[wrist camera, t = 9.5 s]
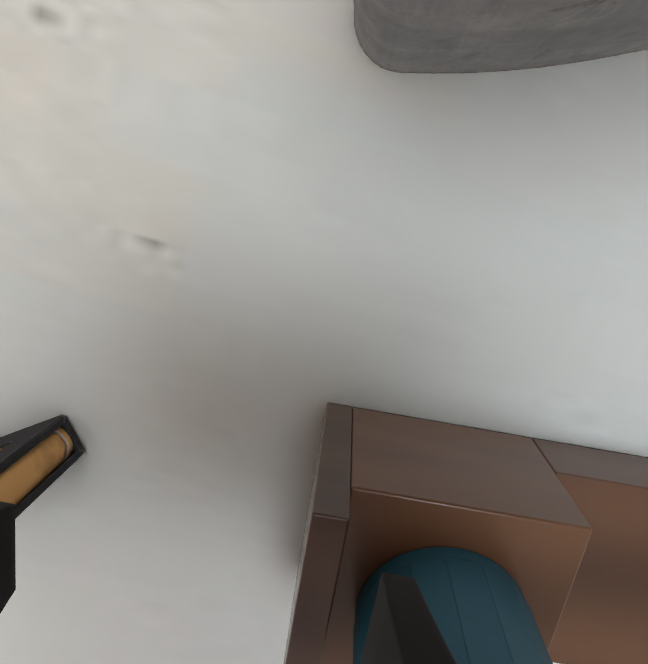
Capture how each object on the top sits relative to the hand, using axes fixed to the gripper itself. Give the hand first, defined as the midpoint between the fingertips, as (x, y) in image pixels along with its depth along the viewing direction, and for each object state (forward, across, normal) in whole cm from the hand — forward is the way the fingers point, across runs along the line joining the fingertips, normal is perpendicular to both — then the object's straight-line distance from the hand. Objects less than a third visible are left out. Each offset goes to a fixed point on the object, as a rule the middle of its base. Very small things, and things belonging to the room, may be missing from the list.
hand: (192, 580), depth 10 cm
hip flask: (+11, -8, -15) cm, 20 cm away
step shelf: (+10, -10, +4) cm, 15 cm away
